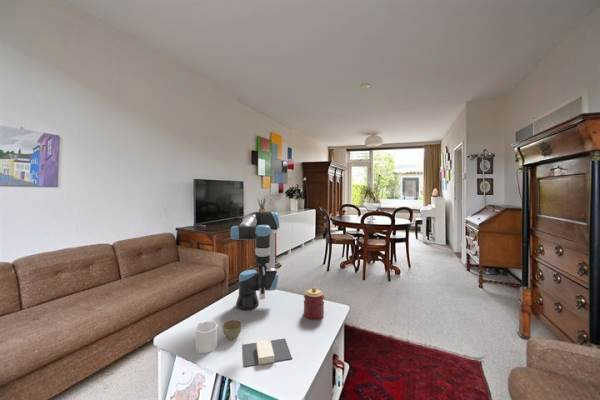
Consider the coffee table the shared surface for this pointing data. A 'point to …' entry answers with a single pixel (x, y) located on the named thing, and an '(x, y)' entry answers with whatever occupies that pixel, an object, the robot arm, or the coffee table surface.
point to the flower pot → (232, 329)
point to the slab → (265, 352)
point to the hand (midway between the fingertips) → (262, 298)
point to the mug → (206, 337)
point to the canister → (313, 304)
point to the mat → (279, 351)
